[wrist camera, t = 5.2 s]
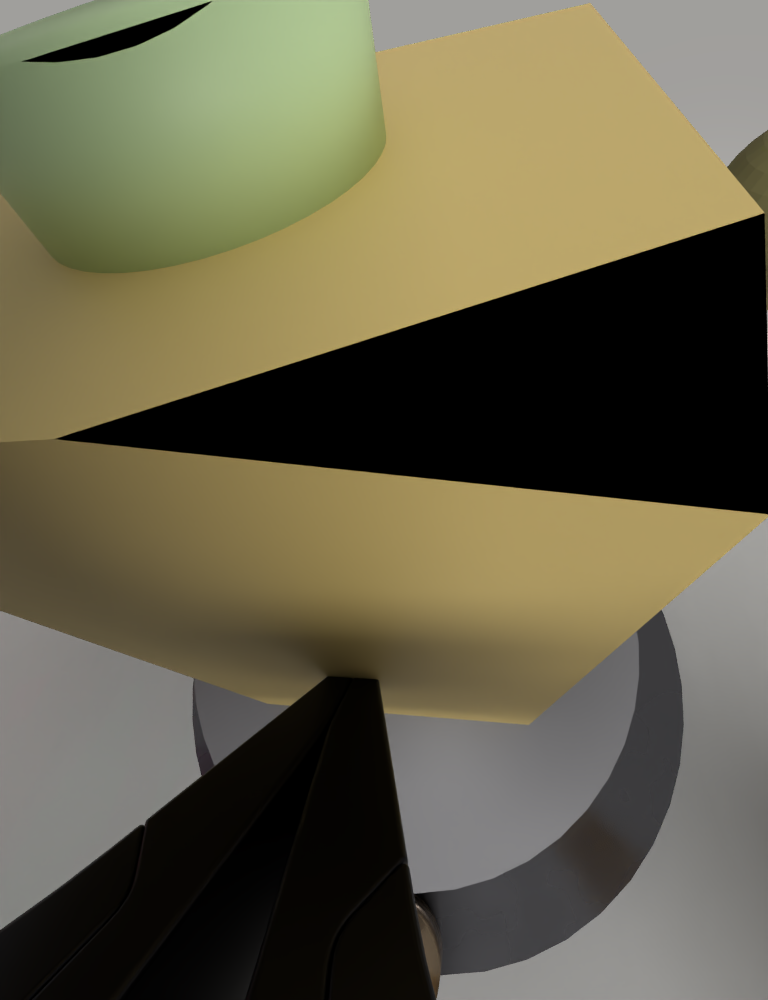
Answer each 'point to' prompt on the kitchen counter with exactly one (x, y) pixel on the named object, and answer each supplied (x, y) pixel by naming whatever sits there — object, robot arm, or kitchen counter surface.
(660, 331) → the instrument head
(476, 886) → the base
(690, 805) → the kitchen counter surface
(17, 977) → the robot arm
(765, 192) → the light bulb
